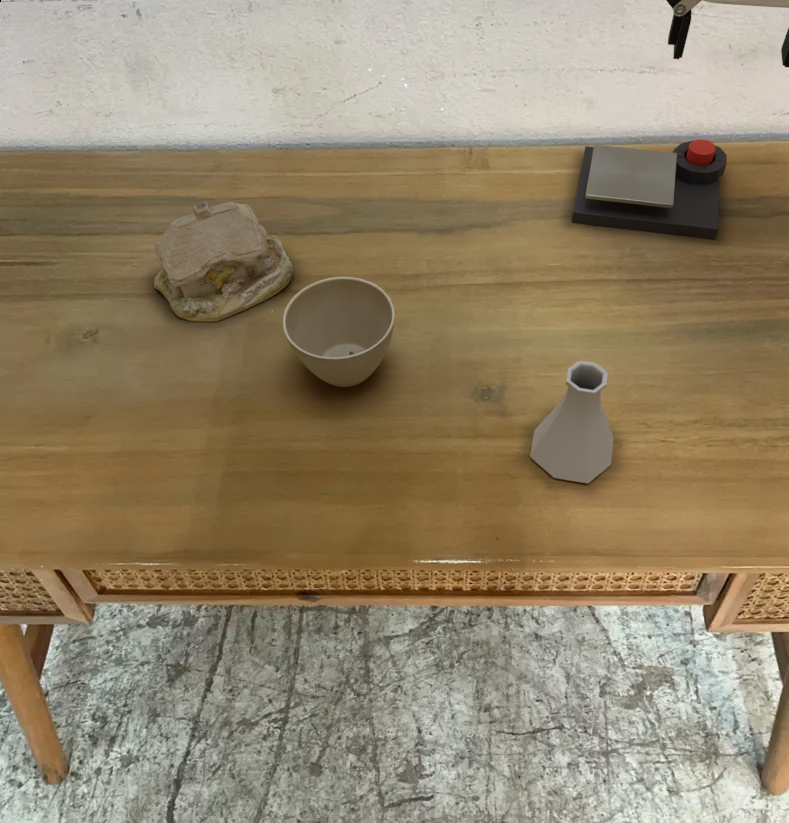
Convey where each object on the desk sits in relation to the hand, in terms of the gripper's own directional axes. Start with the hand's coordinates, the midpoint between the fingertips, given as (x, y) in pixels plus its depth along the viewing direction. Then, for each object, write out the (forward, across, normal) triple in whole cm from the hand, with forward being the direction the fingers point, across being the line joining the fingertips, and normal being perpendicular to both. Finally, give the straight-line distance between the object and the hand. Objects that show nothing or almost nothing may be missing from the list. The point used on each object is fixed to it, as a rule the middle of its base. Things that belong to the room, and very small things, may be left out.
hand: (731, 55), depth 77 cm
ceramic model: (+18, -47, -19) cm, 54 cm away
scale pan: (+15, -6, +1) cm, 16 cm away
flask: (+18, -9, -34) cm, 40 cm away
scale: (+18, -4, +1) cm, 18 cm away
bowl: (+18, -31, -29) cm, 46 cm away
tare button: (+15, +1, +5) cm, 16 cm away
